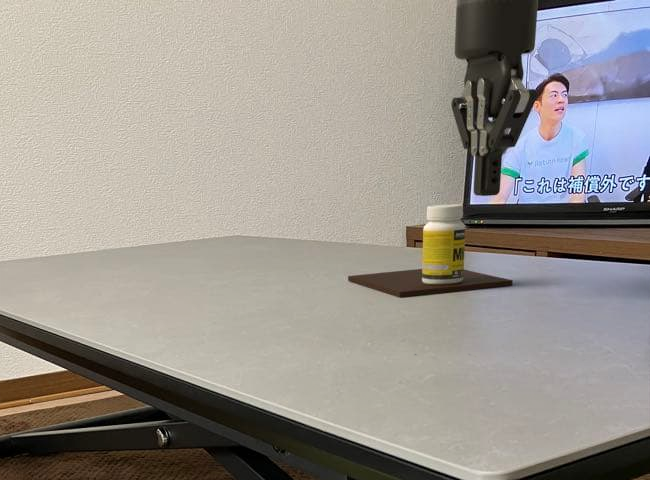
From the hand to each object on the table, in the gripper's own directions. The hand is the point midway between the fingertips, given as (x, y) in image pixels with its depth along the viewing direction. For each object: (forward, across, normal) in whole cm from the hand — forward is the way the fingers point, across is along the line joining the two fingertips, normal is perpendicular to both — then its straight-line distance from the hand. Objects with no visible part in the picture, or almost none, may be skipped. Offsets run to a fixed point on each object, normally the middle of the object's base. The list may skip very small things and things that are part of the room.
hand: (486, 195), depth 92 cm
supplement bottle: (+10, +9, 0) cm, 14 cm away
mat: (+10, +14, 0) cm, 17 cm away
